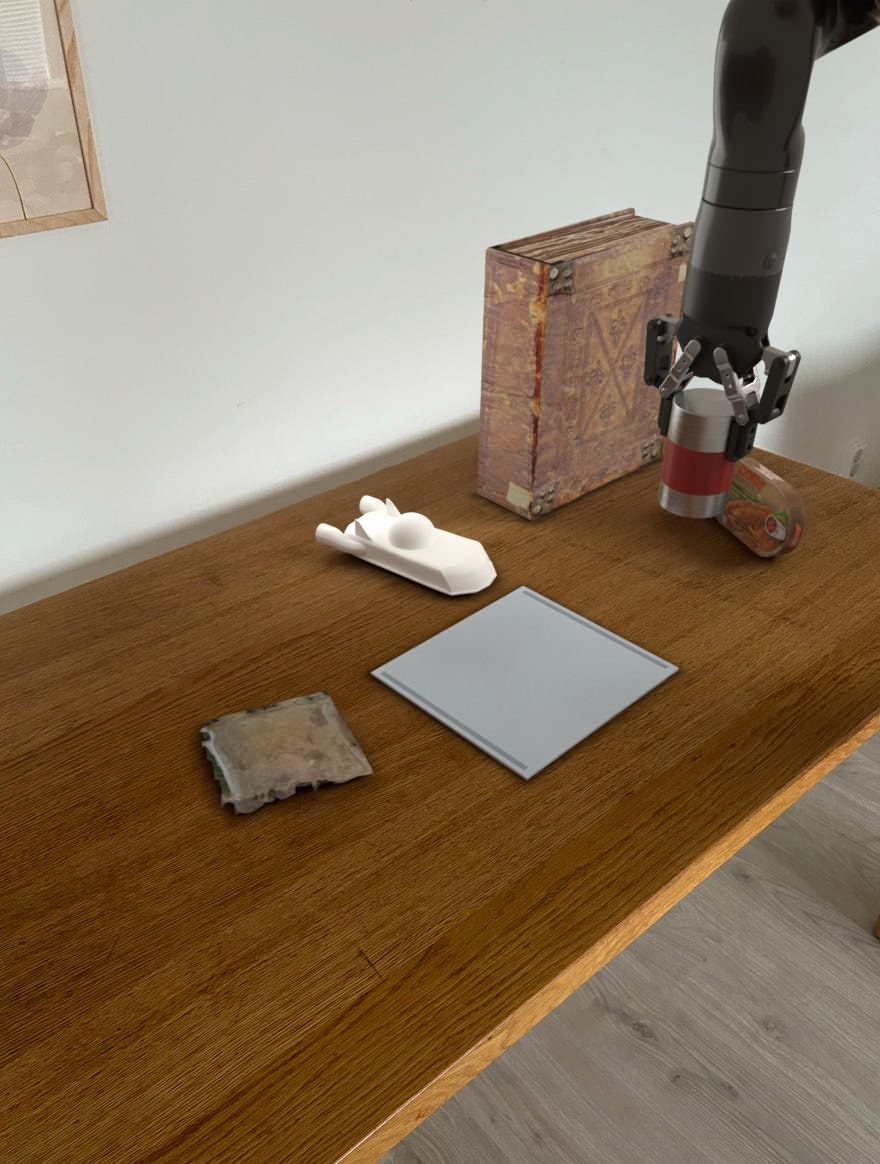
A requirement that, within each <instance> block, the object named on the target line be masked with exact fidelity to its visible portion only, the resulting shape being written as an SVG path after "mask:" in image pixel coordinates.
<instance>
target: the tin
mask: <svg viewBox="0 0 880 1164" xmlns="http://www.w3.org/2000/svg"><path fill="white" fill-rule="evenodd" d="M714 517H715V518H716V520H717V522H718V523H719V524H720V525H721V526H723V528H725V529H726V530H727V531H728V532H729V533H731V534H732V535H733V536H734V537H736V538H737V539H738V540H739V541H741V543H743V544H744V546H746V547H747V548H749V550H751V551H752V552H753V553H755V555H758V556H759V557H761V558H772V557H776V556H784V555H787V554H790V553H792V552H793V551H794V550H796V549H797V547H799V545H800V543H801V540H802V538H803V535H804V531H805V527H806V521H807V512H806V507H805V504H804V501H803V499H802V496H801V494H800V493H799V491H798V490H797V489H796V488H795V487H794V486H793V485H791V483H789V482H787V481H786V480H785V479H784V478H782V477H781V476H779V475H778V474H777V473H775V472H773V471H772V470H770V469H769V468H768V467H767V466H765V465H764V464H762V462H760V461H758V460H757V459H755V458H754V457H751V456H744V458H742V459H740V460H739V461H737V462H736V465H735V470H734V475H733V480H732V484H731V488H730V493H729V498H728V503H727V507H726V509H725V511H724V512H722V513H721V514H719V515H717V516H714Z"/></svg>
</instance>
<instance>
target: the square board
mask: <svg viewBox="0 0 880 1164" xmlns="http://www.w3.org/2000/svg"><path fill="white" fill-rule="evenodd" d="M679 669H680V668H679V667H678V666H676V665H675V664H673V663H670V662H669V661H667V660H665V659H662V658H661V657H660V656H657V655H655V654H654V653H652V652H649V651H648V650H646V649H645V648H642V647H640V646H639V645H637V644H634V643H633V642H631V641H629V640H627V639H625V638H623V637H621V636H620V635H618V634H616V633H613V632H611V631H610V630H608V629H606V628H604V627H603V626H601V625H599V624H596V623H595V622H593V621H591V620H589V619H588V618H585V617H583V616H581V615H579V614H578V613H576V612H574V611H572V610H570V609H568V608H566V607H564V606H562V605H561V604H559V603H557V602H555V601H553V600H552V599H549V598H547V597H546V596H544V595H542V594H540V593H538V592H536V591H534V590H532V589H530V588H528V587H526V586H525V585H522V586H520V587H518V588H516V589H515V590H513V591H512V592H510V593H508V594H506V595H504V596H503V597H501V598H499V599H497V600H496V601H494V602H492V603H490V604H488V605H487V606H485V607H483V608H482V609H480V610H478V611H476V612H474V613H473V614H471V615H469V616H467V617H466V618H464V619H461V621H458V622H457V623H455V624H454V625H451V626H450V627H448V628H447V629H445V630H443V631H441V632H439V633H438V634H436V635H434V636H433V637H432V636H431V637H430V638H429V639H427V640H425V641H424V642H422V643H420V644H418V645H416V646H414V647H413V648H411V649H409V650H408V651H406V652H404V653H402V654H401V655H399V656H397V657H395V658H393V659H391V660H390V661H388V662H387V663H385V664H383V665H381V666H380V667H378V668H376V669H374V670H372V671H371V672H370V676H372V677H373V678H375V679H376V680H378V681H379V682H381V683H382V684H384V685H385V686H387V687H388V688H390V689H391V690H393V691H394V692H395V693H397V694H398V695H400V696H401V697H403V698H404V699H406V700H408V701H409V702H410V703H412V704H413V705H415V706H416V707H418V708H419V709H420V710H422V711H424V712H425V713H426V714H427V715H429V716H431V717H432V718H433V719H435V720H437V721H438V722H440V723H441V724H443V725H445V726H446V727H447V728H448V729H450V730H451V731H452V732H455V733H456V734H458V735H459V736H461V737H462V738H464V739H465V740H466V741H468V743H469V742H470V743H471V744H472V745H474V746H475V747H477V749H479V750H481V751H482V752H484V753H485V754H487V755H488V756H490V757H492V758H493V759H494V760H495V761H497V762H499V763H500V764H502V765H503V766H504V767H506V768H507V769H509V770H511V771H512V772H514V773H515V774H517V775H518V776H519V777H520V778H522V779H524V780H525V781H528V780H529V779H531V778H532V777H533V776H535V775H537V774H538V773H539V772H541V771H542V770H543V769H545V768H546V767H547V766H549V765H550V764H552V763H553V762H554V761H556V760H557V759H558V758H559V757H561V756H563V755H564V754H565V753H567V752H568V751H569V750H571V749H572V748H574V747H575V746H576V745H578V744H579V743H581V742H582V741H583V740H585V739H586V738H588V737H589V736H590V735H591V734H593V733H594V732H595V731H597V730H598V729H599V728H601V727H603V726H604V725H605V724H606V723H608V722H609V721H611V720H612V719H613V718H615V717H616V716H617V715H620V713H622V712H623V711H625V710H626V709H627V708H628V707H630V706H631V705H632V704H634V703H635V702H637V701H638V700H639V699H641V698H642V697H644V696H645V695H647V694H648V693H649V692H650V691H652V690H654V689H655V688H656V687H658V686H659V685H660V684H662V683H663V682H664V681H666V680H668V679H669V678H670V677H671V676H672V675H673V674H675V673H677V672H678V671H679Z"/></svg>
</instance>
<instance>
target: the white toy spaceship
mask: <svg viewBox="0 0 880 1164" xmlns="http://www.w3.org/2000/svg"><path fill="white" fill-rule="evenodd" d="M358 508H359V511H360V513H361V515H362V516H360V517H359V518H354V521H352V522H351V523H350V524H348V525H347V527H346V528H345V530H344V533H343V532H342V531H341V530H340V529H339V528H337V527H335V526H332V525H330V524H327V523H324V522H323V523H320V524H319V525H318V526H317V527H316V530H315V534H314V536H315V540H316V542H317V543H318V544H320V545H322V546H326V547H329V548H332V549H335V550H337V551H339V552H343V553H346V554H351V555H352V556H354V557H357V558H359V559H361V560H362V561H363V560H364V561H365V562H367V563H370V564H373V565H375V566H377V567H380V568H382V569H385V570H387V571H390V572H391V573H394V574H395V575H396V574H397V575H398V576H401V577H403V578H406V579H408V580H411V581H413V582H416V583H419V584H421V585H423V586H426V587H427V588H430V589H432V590H435V591H438V592H440V593H443V594H446V595H448V596H451V597H453V596H458V595H459V596H460V595H466V594H467V595H468V594H476V593H478V592H480V591H482V590H484V589H486V588H488V587H489V586H491V584H492V583H493V582H494V581H495V579H496V577H497V571H496V569H495V567H494V565H493V562H492V561H491V560H490V557H489V555H488V554H487V552H486V550H485V548H484V546H483V545H482V543H481V542H479V541H477V540H474V539H471V538H467V537H464V536H460V535H458V534H455V533H452V532H449V531H446V530H443V529H439V528H437V527H435V526H434V524H433V522H432V521H431V520H430V519H429V518H428V517H427V516H425V515H423V514H421V513H418V512H413V511H412V512H404V513H402V514H401V512H399V510H398V508H397V506H395V504H394V503H393V502H392V500H391V499H389V498H388V497H387V498H386V499H385V502H383V501H382V500H381V499H379V498H377V497H373V496H370V495H363V496H362V497H361V499H360V500H359V505H358Z"/></svg>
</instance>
